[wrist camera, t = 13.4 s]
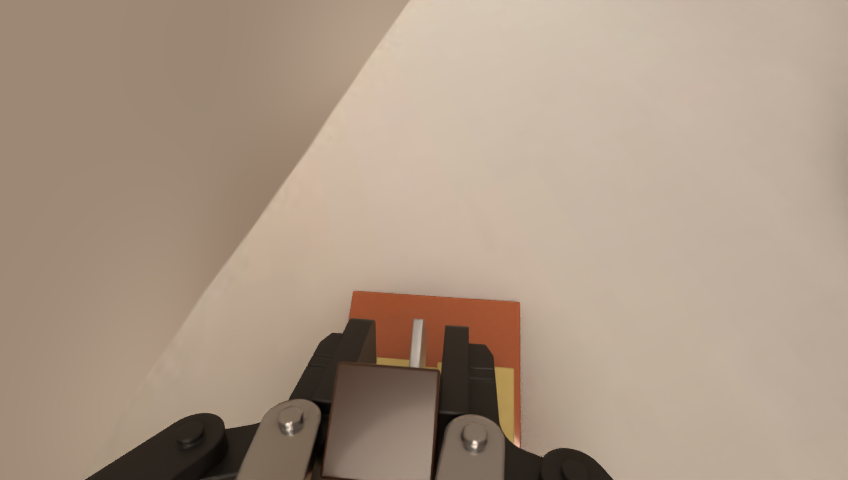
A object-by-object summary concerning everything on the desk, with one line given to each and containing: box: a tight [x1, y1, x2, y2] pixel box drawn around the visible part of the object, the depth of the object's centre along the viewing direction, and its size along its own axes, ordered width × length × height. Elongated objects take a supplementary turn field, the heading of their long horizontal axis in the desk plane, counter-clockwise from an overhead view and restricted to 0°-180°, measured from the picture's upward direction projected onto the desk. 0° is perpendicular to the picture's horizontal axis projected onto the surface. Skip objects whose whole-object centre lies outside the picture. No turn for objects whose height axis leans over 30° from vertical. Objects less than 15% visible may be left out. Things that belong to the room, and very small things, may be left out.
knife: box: [320, 319, 442, 480], centre depth 13 cm, size 7×2×10 cm, turn 175°
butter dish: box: [349, 291, 521, 448], centre depth 27 cm, size 16×12×1 cm
